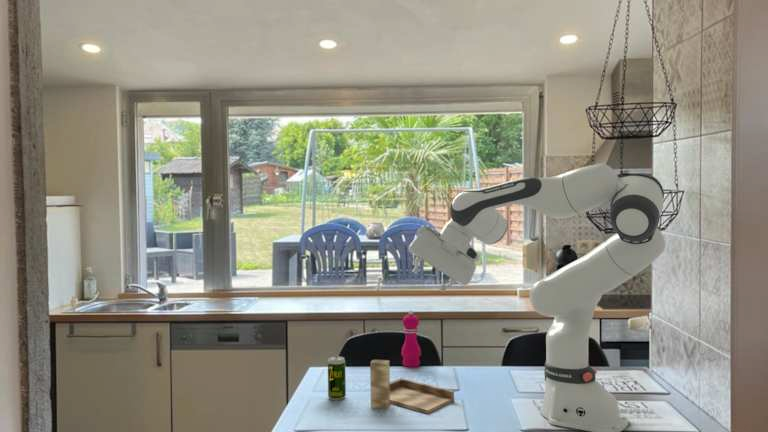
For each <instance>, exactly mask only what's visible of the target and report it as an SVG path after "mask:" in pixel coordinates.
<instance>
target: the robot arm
mask: <svg viewBox="0 0 768 432" xmlns="http://www.w3.org/2000/svg"><path fill="white" fill-rule="evenodd" d="M664 198H665V192H664V188H663V185H662V184H661V181H659V180H658V178H656V177H654V176H653V175H651V174H647V173H641V172H640V173H632V172H631V173H630V172H621V173H619V174H617V172H616V171H615V170H614V169H613V168H612V167H611V166H609V165H608V164H605V163H596V164H591V165H587V166H582V167H579V168H574V169H572V170H569V171H566V172H564V173H561V174H558V175H553V176H547V177H546V176H545V177H531V176H530V177H522V178H517V179H513V180H510V181H509V180H508V181H505V182H502V183H499V184H494V185H491V186H487V187H482V188H472V189H465V190H462V191H461V192H458V193H457V194H456V195H455V196H454V197H453V198H452V200H451V203H450V207H449V208H450V209H449V212H450V219H449V220H448V221H447V222H446V223H445V225H444V226H443V228H442V229H441V231H440V232H439V231H437V230H436V229H433V228H432V227H431V226H430V225H421V226H420V227H419V228H418V230H417V231H416V236H415V238H414V239H413V240H412V241H411V242H410V244H409V245H408V247H407V249H408V252H409V253H411V254H413V255H414V256H415V259H414V267H413V269H412V270H411V272H412V273H414V274H415V275H418V274H419V272H420V271H421V268H419V263H420V262H422V261H424V262H425V263H427V264H428V265H430V266H432V267H433V268H435V269H436V270H438V272H441V273H442V274H444V275H445V276H447V278H449V279H448V283H446V284H444V283H442V284H440V287H438V288H439V290H440V291H441V292H443V293H445V292H446V290H447V289H448V288H449V287H451V286H453V285H455V283H458V284H459V285H461V286H468V285H469V284H470V282H471V280H472V279H473V277H474V274H475V271H476V268H477V264H476V262H478V261H479V260H480V258H481V257H480V254H479V253H478V252H477V251H476V250H475V248H474V247H473V246H472V245H471V242H472V240H473V238H476V239H477V240H478V241H480V242H481V243H483V244H486V245H494V244H497V243H498V242H499V241H501V240H502V239H503V238H504V237H505V235H506V233H507V230H508V225H509V224H508V221H507V219H506V218H505V216H504V215H503V214H502V213H501V212H500V211H498V210H497V209H500V208H503V207H507V206H511V205H520V206H524V207H527V208H530V209H532V210H535V211H537V212H539V213H541V214H543V215H545V216H546V217H548V218H552V219H555V220H560V219H562V220H563V219H568V218H573V217H575V216H578V215H582V214H584V213H587V212H589V211H592V210H598V209H599V210H601V209H604V210H609V221H610V224H611V227H612V229H613V230H614V232H616V233H615V234H613V235H612V236H610V237H608V238H607V239H606V240H604V241H602V242H601V243H600V244H599V245H597V246H596V247H594V248H593V249H591V250H590V251H589V252H587V253H585V255H583V256H581V257H579V258H577V259H575V260H574V261H571V262H570V263H568V264H566V265H564V266H562V267H561V268H559V269H557V270H556V271H553V272H552V273H550V274H549V275H547V276H546V277H544V278H541V279H539V280H538V281H536V282H534V283H533V285H532V286H531V288H530V290H529V303H530V304H531V305H530V306H531V307H532V309H533V310H534V311H535V312H536V313H537V314H539V315H541V316H544V317H551V318H553V321H552V324H551V325H550V328H549V329H548V331H547V333H546V335H545V345H546V346H545V347H546V348H545V349H546V350H545V351H546V353H545V354H546V355H545V356H546V357H545V358H546V359H545V362H544V381H545V388H544V396H543V402H542V406H541V409H540V414H541V416H542V417H544V418H545V419H546V420H548V422H549V423H550V424H551V425H553V426H559V427H565V428H570V429H574V430H575V429H576V430H582V431H586V432H622V431H624V430H625V429H626V428H627V427H628V425H629V417H628V416H627V415H625V414H622V413H621V412H620V408H619V403H618V401H617V399H616V397H615V396H614V395H613V394H612V393H611V392H610V391H609V390H607V389H606V388H605V387H604V386H603V385H602V384H601V383H599V382H598V381H597V380H596V374H598V368H595V369H593V367H592V366H591V365H590V364H589V339H590V331H591V326H592V322H593V318H594V313H595V311H596V307H597V305H598V304H599V302H600V301H601V299H602V296H603V295H604V294H607V293H609V292H611V291H613V290H614V289H616V288H617V287H619V286H620V285H622V284H623V283H626V282H627V281H628V280H630V279H632V278H633V277H634V276H636V275H638V274H639V273H640V272H642V271H643V270H645V269H646V268H648V266H650V265H651V264H653V262H655V261H656V260H657V259H658V258H659V257H660V256H661V255H662V253H664V251H665V249H666V239H665V237H664V235H663V233H662V232H661V230H660V229H659V228H658V226H659V223H660V218H661V216H662V213H663V209H664Z"/></svg>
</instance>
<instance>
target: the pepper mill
mask: <svg viewBox="0 0 768 432" xmlns="http://www.w3.org/2000/svg"><path fill="white" fill-rule="evenodd" d="M407 313H408V314H406V315H405V316H403V319H402V325H403V327H404V328H403V330H404V331H403V332H404V333H405V339H404V343H403V346H402V348H401V352H400V354H401V356H402V358H403V360H402V365H403V366H404V367H405V368H416V367H419V366H420V365H421V361H420V357H421V356H422V350H421V347H420V344H419V343H418V339H417V333H418V330H419V329H418V326H419V324H420V320H419V317H418V316H417V315H415V314H414V311H413V310H409V311H408V312H407Z"/></svg>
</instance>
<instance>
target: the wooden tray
mask: <svg viewBox="0 0 768 432" xmlns="http://www.w3.org/2000/svg"><path fill="white" fill-rule="evenodd" d="M453 402H455V391H454V390H451V389H447V388H443V387H439V386H436V385H435V386H434V385H431V384H427V383H422V382H418V381H414V380H410V379H406V378H402V377H401V378H398V379H395V380H393V381H390V405H391V404H392V405H396V406H398V405H399V406H400V407H403V408H406V409H409V410H411V411H412V410H413V411H417V412H419V413H424V414H428V415H429V414H430V413H432V412H434V411H437V410H438V409H441V408H443V407H445V406H447V405H449V404H451V403H453ZM399 406H398V407H399Z"/></svg>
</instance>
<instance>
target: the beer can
mask: <svg viewBox="0 0 768 432" xmlns="http://www.w3.org/2000/svg"><path fill="white" fill-rule="evenodd" d="M345 359H346V358H345V357H344V356H331V357H328V361H327V395H328V399H329V400H331V401H342V400H344V399H345V398H346V395H347V392H346V391H347V389H346V388H347V385H346V383H347V380H346V360H345Z"/></svg>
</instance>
